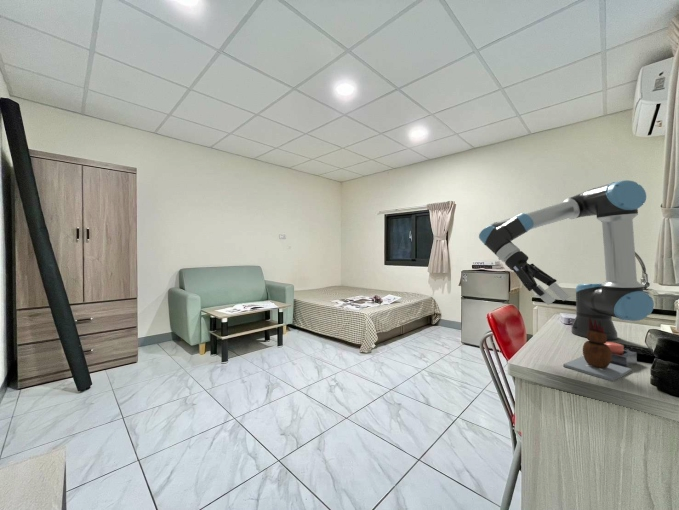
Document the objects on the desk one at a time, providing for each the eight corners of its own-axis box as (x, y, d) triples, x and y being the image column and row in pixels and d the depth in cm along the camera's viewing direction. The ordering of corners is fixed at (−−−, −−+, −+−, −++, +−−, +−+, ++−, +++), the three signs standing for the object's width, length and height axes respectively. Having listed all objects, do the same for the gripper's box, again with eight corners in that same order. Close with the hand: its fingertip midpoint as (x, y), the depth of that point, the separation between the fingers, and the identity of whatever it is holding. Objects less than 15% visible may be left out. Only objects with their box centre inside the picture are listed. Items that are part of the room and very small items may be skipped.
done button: (606, 349, 97) (606, 341, 97) (626, 354, 93) (626, 345, 93) (600, 352, 95) (600, 343, 95) (620, 356, 90) (620, 347, 90)
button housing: (601, 354, 100) (601, 344, 100) (636, 362, 92) (636, 352, 92) (590, 359, 96) (590, 349, 96) (626, 368, 88) (626, 357, 88)
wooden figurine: (578, 361, 91) (578, 316, 91) (596, 361, 91) (596, 316, 91) (597, 370, 84) (597, 321, 84) (616, 370, 84) (616, 321, 84)
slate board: (582, 358, 96) (582, 356, 96) (631, 371, 86) (631, 368, 86) (563, 366, 89) (563, 363, 89) (613, 381, 79) (613, 378, 79)
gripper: (519, 262, 117) (563, 303, 104) (489, 264, 103) (535, 311, 91) (534, 250, 112) (581, 290, 100) (503, 250, 98) (554, 297, 86)
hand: (559, 300), depth 95 cm, fingers open, 13 cm apart
